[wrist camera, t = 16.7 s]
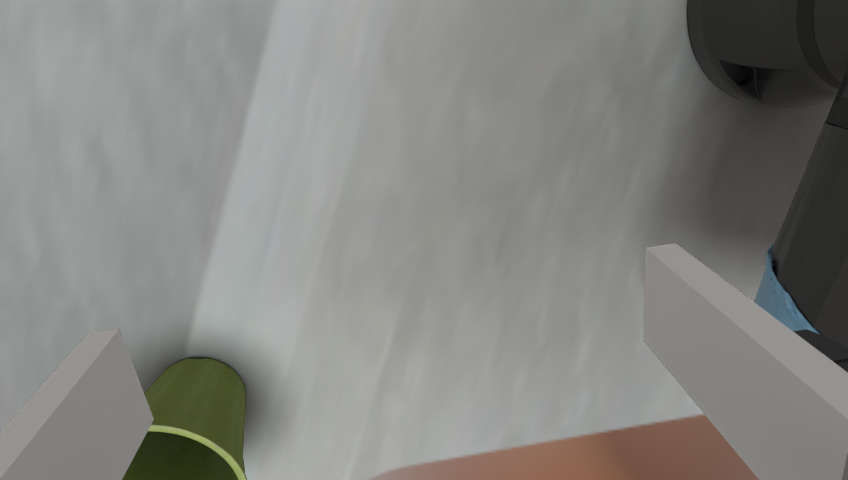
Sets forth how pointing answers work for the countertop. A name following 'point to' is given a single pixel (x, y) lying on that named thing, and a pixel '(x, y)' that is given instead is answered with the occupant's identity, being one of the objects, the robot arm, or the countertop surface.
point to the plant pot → (193, 425)
